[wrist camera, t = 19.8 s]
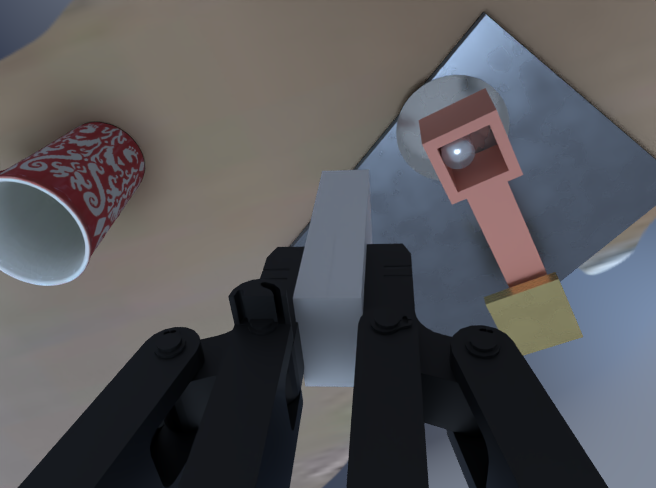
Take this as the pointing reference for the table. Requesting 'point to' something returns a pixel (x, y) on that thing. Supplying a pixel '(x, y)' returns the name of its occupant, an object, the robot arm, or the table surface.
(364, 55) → the table surface
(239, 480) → the robot arm
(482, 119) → the link
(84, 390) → the table surface
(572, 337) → the block
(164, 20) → the table surface
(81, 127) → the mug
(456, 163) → the pintle
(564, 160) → the plate
